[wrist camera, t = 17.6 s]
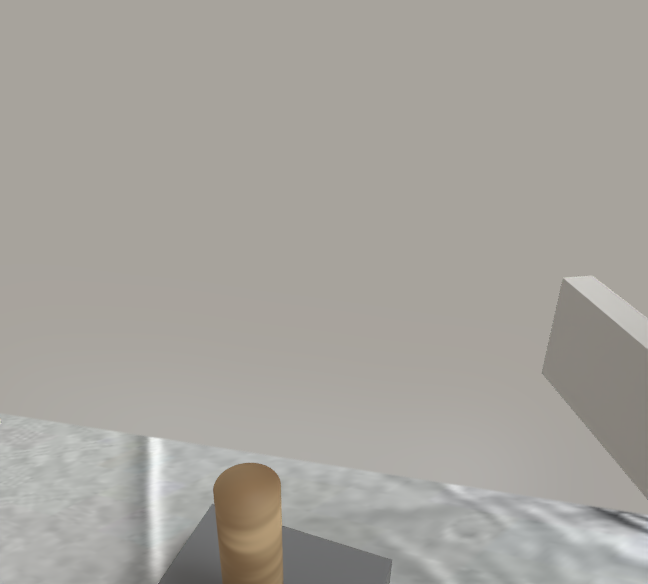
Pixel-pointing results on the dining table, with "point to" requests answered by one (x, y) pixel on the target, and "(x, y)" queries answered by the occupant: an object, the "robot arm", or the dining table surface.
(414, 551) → the dining table surface
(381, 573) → the socket block
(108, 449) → the dining table surface
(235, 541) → the oak dowel
